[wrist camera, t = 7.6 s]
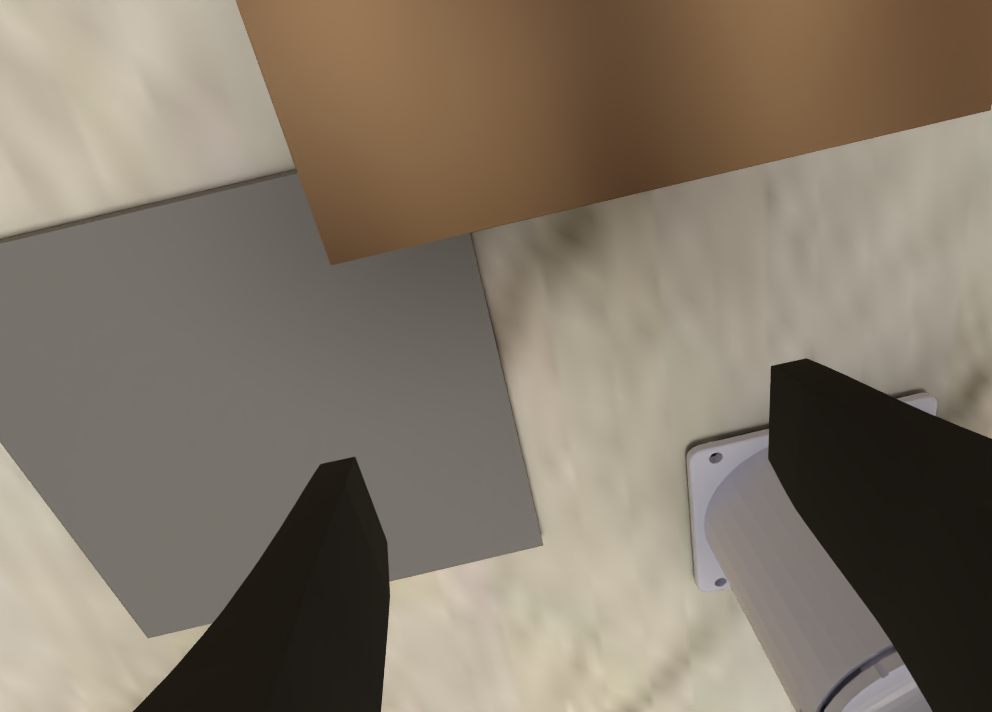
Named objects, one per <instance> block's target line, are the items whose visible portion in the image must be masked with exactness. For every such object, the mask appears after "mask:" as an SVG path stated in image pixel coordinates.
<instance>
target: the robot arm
mask: <svg viewBox="0 0 992 712" xmlns="http://www.w3.org/2000/svg"><path fill="white" fill-rule="evenodd" d="M936 411H937V400H936V399H935V398H934V397H933V396H932V395H930V394H928V393H918V394H914V395H910V396H905V397H901V398H897V399H896V398H894V397H891V396H889V395H887V394H885V393H883V392H880V391H878V390H876V389H874V388H872V387H870V386H868V385H865V384H863V383H861V382H859V381H857V380H855V379H852V378H850V377H848V376H846V375H844V374H842V373H839V372H837V371H835V370H833V369H831V368H828V367H826V366H824V365H821V364H819V363H817V362H814V361H812V360H809V359H802V360H797V361H792V362H788V363H783V364H778V365H774V366H771V384H770V414H769V429H765V430H761V431H757V432H752V433H748V434H744V435H740V436H735V437H731V438H727V439H723V440H718V441H714V442H710V443H706V444H701V445H698V446H695V447H693V448H692V449H691V450H690V451H689V452H688V454H687V457H686V461H687V475H688V490H689V504H690V518H691V533H692V547H693V562H694V576H695V583H696V585H697V587H698V589H699V590H700V591H702V592H711V591H716V590H720V589H724V588H728V587H731V588H732V590H733V592H734V594H735V596H736V598H737V600H738V601H739V603H740V605H741V607H742V609H743V611H744V613H745V615H746V617H747V619H748V621H749V623H750V624H751V626H752V628H753V630H754V632H755V634H756V636H757V638H758V640H759V642H760V644H761V646H762V647H763V649H764V651H765V653H766V655H767V657H768V659H769V661H770V663H771V665H772V667H773V668H774V670H775V672H776V674H777V676H778V678H779V680H780V682H781V684H782V686H783V688H784V690H785V691H786V693H787V695H788V697H789V699H790V701H791V703H792V705H793V707H794V709H795V711H796V712H992V439H991V438H988V437H985V436H983V435H980V434H978V433H975V432H973V431H970V430H968V429H965V428H963V427H960V426H958V425H955V424H953V423H950V422H948V421H946V420H943V419H941V418H939V417H936ZM714 453H717V454H716V455H715V456H713V457H710V456H711V455H712V454H714ZM389 602H390V587H389V563H388V544H387V539H386V537H385V534H384V531H383V529H382V526H381V524H380V521H379V518H378V516H377V513H376V510H375V508H374V505H373V502H372V500H371V497H370V494H369V492H368V489H367V486H366V484H365V481H364V478H363V476H362V473H361V470H360V468H359V465H358V462H357V460H356V457H350V458H346V459H341V460H337V461H332V462H327V463H323V464H320V465H319V467H318V468H317V470H316V471H315V473H314V474H313V476H312V477H311V479H310V480H309V482H308V484H307V485H306V487H305V488H304V490H303V492H302V493H301V495H300V497H299V498H298V500H297V501H296V503H295V505H294V506H293V508H292V510H291V511H290V513H289V514H288V516H287V518H286V519H285V521H284V522H283V524H282V526H281V527H280V529H279V530H278V532H277V533H276V535H275V536H274V538H273V539H272V541H271V542H270V544H269V545H268V547H267V548H266V550H265V551H264V553H263V555H262V556H261V558H260V559H259V561H258V562H257V564H256V565H255V566H254V568H253V569H252V571H251V572H250V574H249V575H248V576H247V578H246V579H245V580H244V582H243V583H242V585H241V586H240V587H239V589H238V590H237V591H236V593H235V594H234V596H233V597H232V598H231V600H230V601H229V602H228V604H227V605H226V607H225V608H224V609H223V611H222V612H221V613H220V614H219V616H218V617H217V618H216V620H215V621H214V622H213V623H212V625H211V626H210V627H209V628H208V629H207V631H206V632H205V633H204V634H203V636H202V637H201V638H200V639H199V640H198V641H197V643H196V644H195V645H194V646H193V647H192V648H191V650H190V651H189V652H188V653H187V654H186V655H185V657H184V658H183V659H182V660H181V661H180V662H179V664H178V665H177V666H176V667H175V668H174V669H173V670H172V671H171V673H170V674H169V675H168V676H167V677H166V678H165V679H164V680H163V681H162V682H161V683H160V684H159V685H158V686H157V687H156V688H155V689H154V690H153V691H152V692H151V694H150V695H149V696H148V697H147V698H146V699H145V700H144V701H143V702H142V703H141V704H140V705H139V706H138V707H137V708H136V709H135V710H134V711H133V712H381V704H382V691H383V679H384V667H385V655H386V643H387V629H388V616H389Z"/></svg>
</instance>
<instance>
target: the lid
mask: <svg viewBox="0 0 992 712" xmlns="http://www.w3.org/2000/svg"><path fill="white" fill-rule="evenodd" d="M236 3H237V5H238V8H239V11H240V14H241V16H242V19H243V22H244V25H245V28H246V30H247V33H248V36H249V39H250V42H251V44H252V47H253V50H254V53H255V55H256V58H257V61H258V64H259V67H260V69H261V72H262V75H263V78H264V81H265V83H266V86H267V89H268V92H269V95H270V97H271V100H272V103H273V106H274V108H275V111H276V114H277V117H278V120H279V122H280V125H281V128H282V131H283V134H284V136H285V139H286V142H287V145H288V147H289V150H290V153H291V156H292V159H293V161H294V164H295V167H296V170H297V173H298V175H299V178H300V181H301V184H302V187H303V189H304V192H305V195H306V198H307V200H308V203H309V206H310V209H311V212H312V214H313V217H314V220H315V223H316V226H317V228H318V231H319V234H320V237H321V239H322V242H323V245H324V248H325V251H326V253H327V256H328V259H329V262H330V265H336V264H340V263H344V262H348V261H353V260H357V259H361V258H365V257H369V256H374V255H378V254H382V253H386V252H391V251H395V250H399V249H403V248H408V247H412V246H416V245H420V244H425V243H429V242H433V241H437V240H442V239H446V238H450V237H454V236H459V235H463V234H467V233H471V232H476V231H480V230H484V229H488V228H492V227H497V226H501V225H505V224H509V223H514V222H518V221H522V220H526V219H531V218H535V217H539V216H543V215H548V214H552V213H556V212H560V211H565V210H569V209H573V208H577V207H582V206H586V205H590V204H594V203H599V202H603V201H607V200H611V199H615V198H620V197H624V196H628V195H632V194H637V193H641V192H645V191H649V190H654V189H658V188H662V187H666V186H671V185H675V184H679V183H683V182H688V181H692V180H696V179H700V178H705V177H709V176H713V175H717V174H722V173H726V172H730V171H734V170H738V169H743V168H747V167H751V166H755V165H760V164H764V163H768V162H772V161H777V160H781V159H785V158H789V157H794V156H798V155H802V154H806V153H811V152H815V151H819V150H823V149H828V148H832V147H836V146H840V145H845V144H849V143H853V142H857V141H861V140H866V139H870V138H874V137H878V136H883V135H887V134H891V133H895V132H900V131H904V130H908V129H912V128H917V127H921V126H925V125H929V124H934V123H938V122H942V121H946V120H951V119H955V118H959V117H963V116H968V115H972V114H976V113H980V112H984V111H989V110H991V104H992V0H236Z"/></svg>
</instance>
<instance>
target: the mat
mask: <svg viewBox="0 0 992 712" xmlns="http://www.w3.org/2000/svg"><path fill="white" fill-rule="evenodd" d="M0 442H1V444H2V445H3V446H4V448H5V449H6V450H7V452H8V453H9V454H10V456H11V457H12V458H13V460H14V461H15V462H16V464H17V465H18V466H19V468H20V469H21V470H22V472H23V473H24V474H25V476H26V477H27V478H28V480H29V481H30V482H31V484H32V485H33V486H34V488H35V489H36V490H37V492H38V493H39V494H40V496H41V497H42V498H43V500H44V501H45V502H46V504H47V505H48V506H49V508H50V509H51V510H52V512H53V513H54V514H55V515H56V517H57V518H58V519H59V521H60V522H61V523H62V525H63V526H64V527H65V529H66V530H67V531H68V533H69V534H70V535H71V537H72V538H73V539H74V541H75V542H76V543H77V545H78V546H79V547H80V549H81V550H82V551H83V553H84V554H85V555H86V557H87V558H88V559H89V561H90V562H91V563H92V565H93V566H94V567H95V569H96V570H97V571H98V573H99V574H100V575H101V577H102V578H103V579H104V581H105V582H106V583H107V585H108V586H109V587H110V589H111V590H112V591H113V593H114V594H115V595H116V597H117V598H118V599H119V601H120V602H121V603H122V605H123V606H124V607H125V609H126V610H127V611H128V613H129V614H130V615H131V616H132V618H133V619H134V620H135V622H136V623H137V624H138V626H139V627H140V628H141V630H142V631H143V632H144V634H145V635H146V636H147V638H151V637H155V636H160V635H164V634H168V633H172V632H177V631H181V630H185V629H190V628H194V627H198V626H202V625H207V624H211V623H213V622H214V621H215V620H216V618H217V617H218V616H219V614H220V613H221V612H222V611H223V609H224V608H225V607H226V605H227V604H228V602H229V601H230V600H231V598H232V597H233V596H234V594H235V593H236V591H237V590H238V589H239V587H240V586H241V585H242V583H243V582H244V580H245V579H246V578H247V576H248V575H249V574H250V572H251V571H252V569H253V568H254V566H255V565H256V564H257V562H258V561H259V559H260V558H261V556H262V555H263V553H264V551H265V550H266V548H267V547H268V545H269V544H270V542H271V541H272V539H273V538H274V536H275V535H276V533H277V532H278V530H279V529H280V527H281V526H282V524H283V522H284V521H285V519H286V518H287V516H288V514H289V513H290V511H291V510H292V508H293V506H294V505H295V503H296V501H297V500H298V498H299V497H300V495H301V493H302V492H303V490H304V488H305V487H306V485H307V484H308V482H309V480H310V479H311V477H312V476H313V474H314V473H315V471H316V470H317V468H318V467H319V465H320V464H323V463H327V462H332V461H337V460H341V459H346V458H350V457H356V460H357V462H358V465H359V468H360V470H361V473H362V476H363V478H364V481H365V484H366V486H367V489H368V492H369V494H370V497H371V500H372V502H373V505H374V508H375V510H376V513H377V516H378V518H379V521H380V524H381V526H382V529H383V531H384V534H385V537H386V539H387V544H388V563H389V582H390V581H394V580H398V579H402V578H407V577H411V576H415V575H419V574H424V573H428V572H432V571H436V570H441V569H445V568H449V567H453V566H458V565H462V564H466V563H470V562H475V561H479V560H483V559H487V558H492V557H496V556H500V555H504V554H509V553H513V552H517V551H521V550H526V549H530V548H534V547H539V546H543V542H542V538H541V533H540V529H539V525H538V521H537V516H536V512H535V508H534V504H533V499H532V495H531V491H530V487H529V482H528V478H527V474H526V470H525V465H524V461H523V457H522V453H521V448H520V444H519V440H518V436H517V431H516V427H515V423H514V419H513V414H512V410H511V406H510V401H509V397H508V393H507V389H506V384H505V380H504V376H503V372H502V367H501V363H500V359H499V355H498V350H497V346H496V342H495V338H494V333H493V329H492V325H491V321H490V316H489V312H488V308H487V304H486V299H485V295H484V291H483V287H482V282H481V278H480V274H479V270H478V265H477V261H476V257H475V253H474V248H473V244H472V240H471V236H470V233H467V234H463V235H459V236H454V237H450V238H446V239H442V240H437V241H433V242H429V243H425V244H420V245H416V246H412V247H408V248H403V249H399V250H395V251H391V252H386V253H382V254H378V255H374V256H369V257H365V258H361V259H357V260H353V261H348V262H344V263H340V264H336V265H330V262H329V259H328V256H327V253H326V251H325V248H324V245H323V242H322V239H321V237H320V234H319V231H318V228H317V226H316V223H315V220H314V217H313V214H312V212H311V209H310V206H309V203H308V200H307V198H306V195H305V192H304V189H303V187H302V184H301V181H300V178H299V175H298V173H297V170H292V171H287V172H283V173H279V174H275V175H271V176H266V177H262V178H258V179H254V180H249V181H245V182H241V183H237V184H233V185H228V186H224V187H220V188H216V189H211V190H207V191H203V192H199V193H195V194H190V195H186V196H182V197H178V198H173V199H169V200H165V201H161V202H157V203H152V204H148V205H144V206H140V207H135V208H131V209H127V210H123V211H119V212H114V213H110V214H106V215H102V216H97V217H93V218H89V219H85V220H81V221H76V222H72V223H68V224H64V225H59V226H55V227H51V228H47V229H43V230H38V231H34V232H30V233H26V234H21V235H17V236H13V237H9V238H5V239H0Z"/></svg>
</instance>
